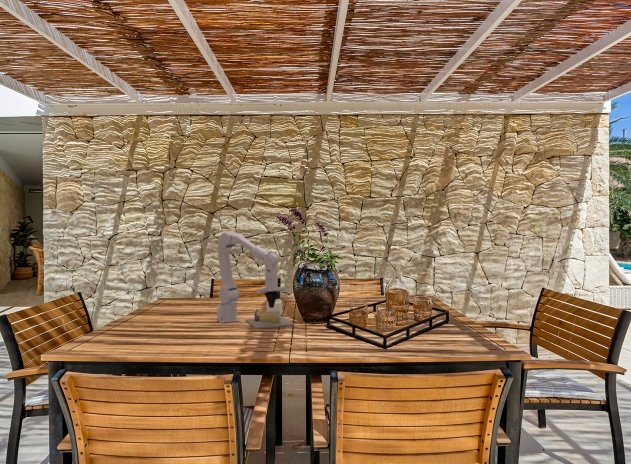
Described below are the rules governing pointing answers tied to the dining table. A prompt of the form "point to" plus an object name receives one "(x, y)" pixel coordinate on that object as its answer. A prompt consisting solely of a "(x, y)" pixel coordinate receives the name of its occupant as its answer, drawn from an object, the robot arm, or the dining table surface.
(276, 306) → the medicine bottle
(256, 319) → the fixed leaf
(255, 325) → the board
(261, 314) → the swing leaf
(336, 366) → the dining table surface
